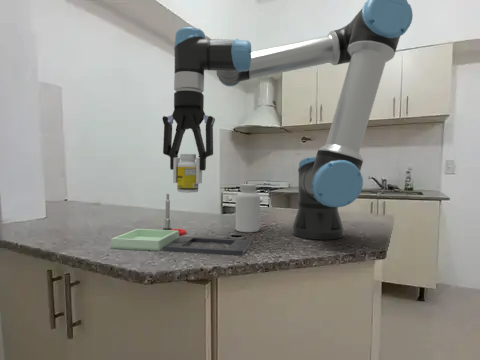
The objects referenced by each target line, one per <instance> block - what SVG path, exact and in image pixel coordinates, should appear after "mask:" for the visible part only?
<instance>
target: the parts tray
mask: <svg viewBox="0 0 480 360" xmlns="http://www.w3.org/2000/svg"><path fill="white" fill-rule="evenodd" d="M178 238H180V235H179V231H177V230H163V229H149V228H148V229H147V228H135V229H133V230H130V231H127V232H125V233H123V234H120V235H116V236H114V237H111V238H110V249H112V250H114V249H117V250H134V251H148V250H150V251H151V252H153V251H154V252H159V251H161V250H163V247H164V246H166V245H167V244H169V243H171V242H173V241H174V240H176V239H178Z"/></svg>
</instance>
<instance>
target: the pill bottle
mask: <svg viewBox="0 0 480 360" xmlns="http://www.w3.org/2000/svg"><path fill="white" fill-rule="evenodd" d="M239 191H240V192H238V193H237V194H236V196H235V230H236V231H237V232H240V233H255V232H256V233H257V232H259V231H260V229H261V195H260V194H259V193H258V192H257V184H254V183H241V184H239Z"/></svg>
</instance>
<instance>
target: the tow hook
mask: <svg viewBox="0 0 480 360" xmlns="http://www.w3.org/2000/svg"><path fill="white" fill-rule="evenodd" d="M165 198H166V200H165V219H164V227H163V229H162V230H177V231H179V236H184V235H186V234H187V230H186V229H183V228H172V227H171V218H170V214H171V213H170V209H171V208H170V207H171V205H170V204H171V203H170V202H171V200H170V193H166V197H165Z"/></svg>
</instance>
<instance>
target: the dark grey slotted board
mask: <svg viewBox="0 0 480 360" xmlns="http://www.w3.org/2000/svg"><path fill="white" fill-rule="evenodd" d="M193 242H194V243H209V242H213V244H230V245H229V247H227V248H226V247H225V248H224V247H223V248H222V247H203V246H189V245H191V244H192V243H193ZM190 243H191V244H190ZM187 245H188V246H187ZM250 245H252V239H246V238H243V239H242V238H225V237H224V238H223V237H207V236H206V237H205V236H204V237H201V236H184V235H180V236H179V238H178V239H176V240H174V241H173V242H171V243H169V244H167V245H166V246H164V247H163V249H162V250H163V252H175V251H187V252H186V253H193V252H202V253H201V254H210V253H215V254H214V255H230V256H231V255H232V256H243V255H245V253H246V251H247V250H248V249H249V247H250Z"/></svg>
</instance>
